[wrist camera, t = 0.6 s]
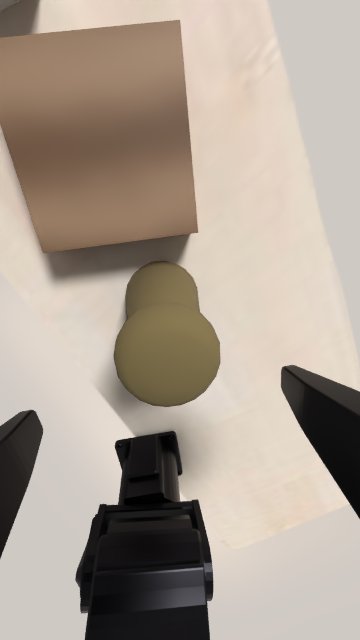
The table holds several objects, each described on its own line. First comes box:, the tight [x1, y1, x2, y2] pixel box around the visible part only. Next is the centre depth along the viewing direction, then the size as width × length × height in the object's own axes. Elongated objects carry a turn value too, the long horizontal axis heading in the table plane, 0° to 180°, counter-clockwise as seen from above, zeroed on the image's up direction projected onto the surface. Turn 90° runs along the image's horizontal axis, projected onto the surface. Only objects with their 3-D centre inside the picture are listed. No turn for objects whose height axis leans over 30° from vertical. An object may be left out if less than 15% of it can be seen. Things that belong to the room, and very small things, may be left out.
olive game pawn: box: [114, 261, 220, 407], centre depth 16 cm, size 6×6×11 cm
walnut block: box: [0, 20, 198, 253], centre depth 15 cm, size 10×10×3 cm
